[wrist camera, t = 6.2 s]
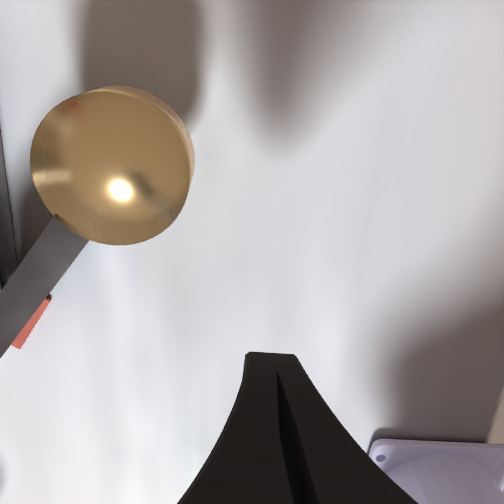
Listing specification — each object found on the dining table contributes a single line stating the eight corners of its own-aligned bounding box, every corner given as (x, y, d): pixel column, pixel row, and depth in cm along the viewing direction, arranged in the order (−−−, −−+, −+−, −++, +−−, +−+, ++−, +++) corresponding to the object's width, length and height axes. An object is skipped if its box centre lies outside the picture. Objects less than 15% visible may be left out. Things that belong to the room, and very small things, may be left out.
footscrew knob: (120, 51, 15) (84, 53, 11) (223, 137, 16) (220, 163, 13) (-22, 264, 18) (-85, 319, 14) (75, 322, 19) (39, 385, 16)
